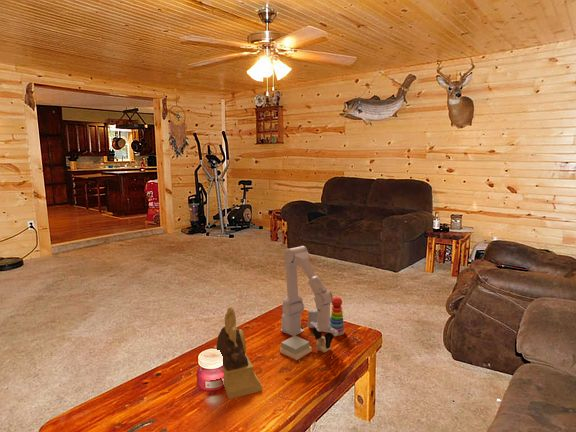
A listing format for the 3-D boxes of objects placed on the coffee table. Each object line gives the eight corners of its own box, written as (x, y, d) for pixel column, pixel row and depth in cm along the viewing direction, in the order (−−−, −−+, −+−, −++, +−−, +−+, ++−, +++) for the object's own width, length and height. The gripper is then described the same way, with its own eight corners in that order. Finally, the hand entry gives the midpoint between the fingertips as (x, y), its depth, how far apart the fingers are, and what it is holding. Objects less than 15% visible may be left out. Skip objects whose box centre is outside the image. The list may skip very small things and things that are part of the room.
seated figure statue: (262, 390, 148) (260, 316, 143) (229, 399, 143) (225, 322, 138) (242, 355, 174) (239, 291, 168) (213, 361, 169) (209, 295, 164)
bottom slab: (280, 353, 176) (280, 348, 175) (295, 345, 183) (295, 340, 182) (296, 361, 169) (296, 355, 168) (311, 352, 176) (311, 347, 176)
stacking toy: (325, 332, 194) (325, 296, 191) (336, 327, 199) (337, 292, 196) (336, 338, 188) (336, 301, 185) (348, 333, 192) (348, 297, 189)
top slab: (281, 347, 176) (281, 342, 175) (295, 340, 182) (295, 335, 182) (295, 354, 169) (295, 349, 169) (309, 347, 176) (309, 341, 175)
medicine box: (324, 324, 202) (324, 308, 201) (324, 328, 198) (324, 312, 196) (308, 324, 203) (308, 308, 202) (308, 328, 199) (308, 312, 197)
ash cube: (316, 349, 177) (316, 339, 177) (322, 345, 181) (322, 336, 180) (324, 352, 174) (324, 343, 174) (330, 348, 178) (330, 339, 177)
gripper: (305, 316, 177) (305, 343, 179) (331, 325, 167) (331, 354, 170) (315, 311, 182) (315, 338, 184) (340, 319, 172) (340, 348, 175)
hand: (323, 345), depth 177 cm, fingers closed on ash cube, 5 cm apart
